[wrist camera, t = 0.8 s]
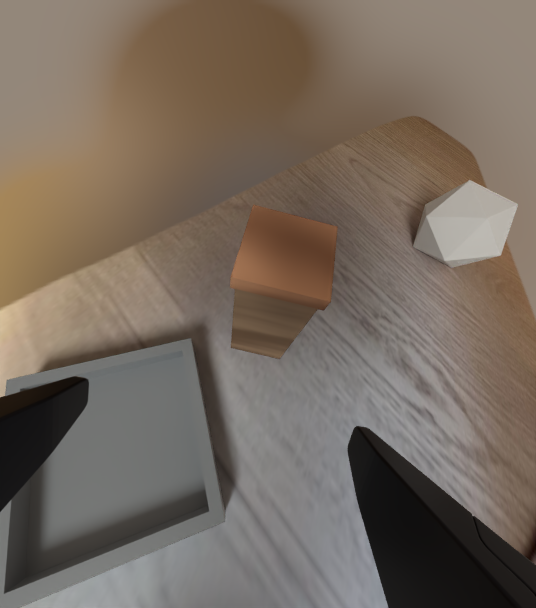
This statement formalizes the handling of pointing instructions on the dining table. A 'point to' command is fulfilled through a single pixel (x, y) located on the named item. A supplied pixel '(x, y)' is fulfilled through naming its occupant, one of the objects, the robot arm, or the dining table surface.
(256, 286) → the brown block
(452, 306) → the dining table surface
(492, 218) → the die
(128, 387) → the tray
